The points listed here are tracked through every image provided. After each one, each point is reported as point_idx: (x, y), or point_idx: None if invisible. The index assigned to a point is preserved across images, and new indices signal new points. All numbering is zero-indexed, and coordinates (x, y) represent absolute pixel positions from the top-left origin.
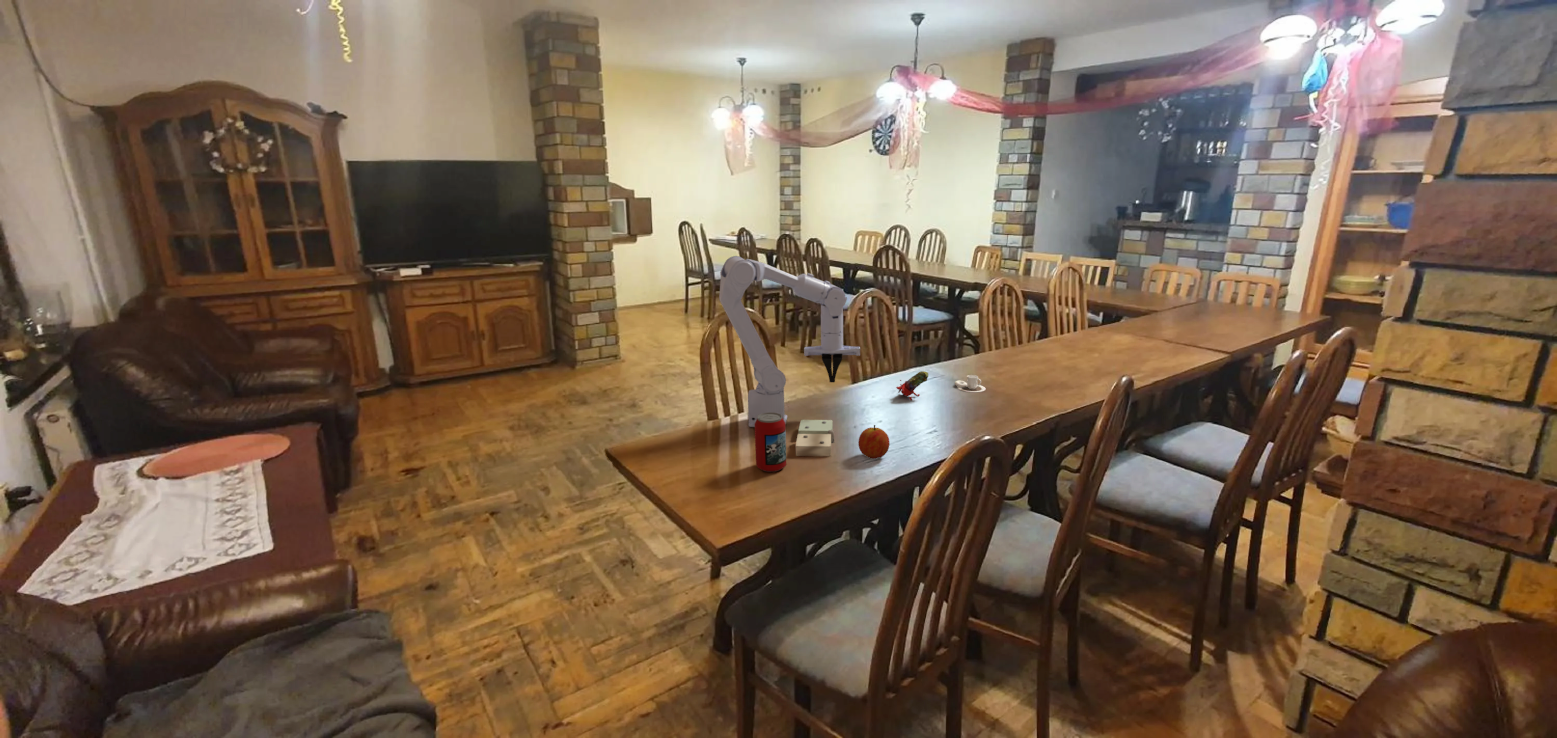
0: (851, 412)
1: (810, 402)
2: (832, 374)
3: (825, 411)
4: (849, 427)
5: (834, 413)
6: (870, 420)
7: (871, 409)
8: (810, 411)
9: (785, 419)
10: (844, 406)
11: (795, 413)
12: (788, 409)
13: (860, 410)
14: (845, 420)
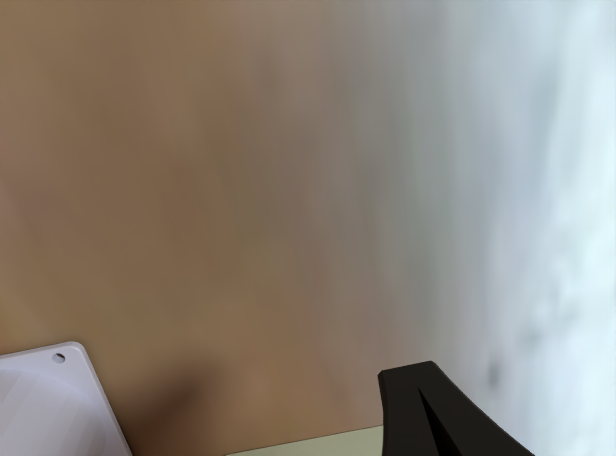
0: (466, 170)
1: (116, 9)
2: (432, 429)
3: (290, 189)
4: (466, 388)
5: (357, 212)
6: (580, 276)
7: (603, 80)
8: (189, 211)
9: (101, 409)
10: (408, 54)
11: (103, 268)
12: (19, 207)
13: (526, 118)
14: (438, 307)
